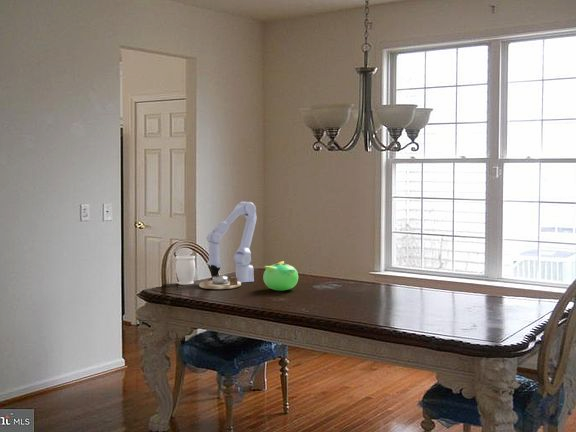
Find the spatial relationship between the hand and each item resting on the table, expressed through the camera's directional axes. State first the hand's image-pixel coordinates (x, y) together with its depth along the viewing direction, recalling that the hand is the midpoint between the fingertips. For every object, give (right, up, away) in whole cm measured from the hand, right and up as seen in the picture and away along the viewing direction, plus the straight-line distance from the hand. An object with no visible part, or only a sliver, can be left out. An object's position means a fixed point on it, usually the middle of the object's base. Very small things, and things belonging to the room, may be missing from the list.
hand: (214, 279), depth 388 cm
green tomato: (+36, -4, -20) cm, 41 cm away
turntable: (+4, -3, -7) cm, 9 cm away
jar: (-16, -3, +3) cm, 16 cm away
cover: (+4, -1, -8) cm, 9 cm away
